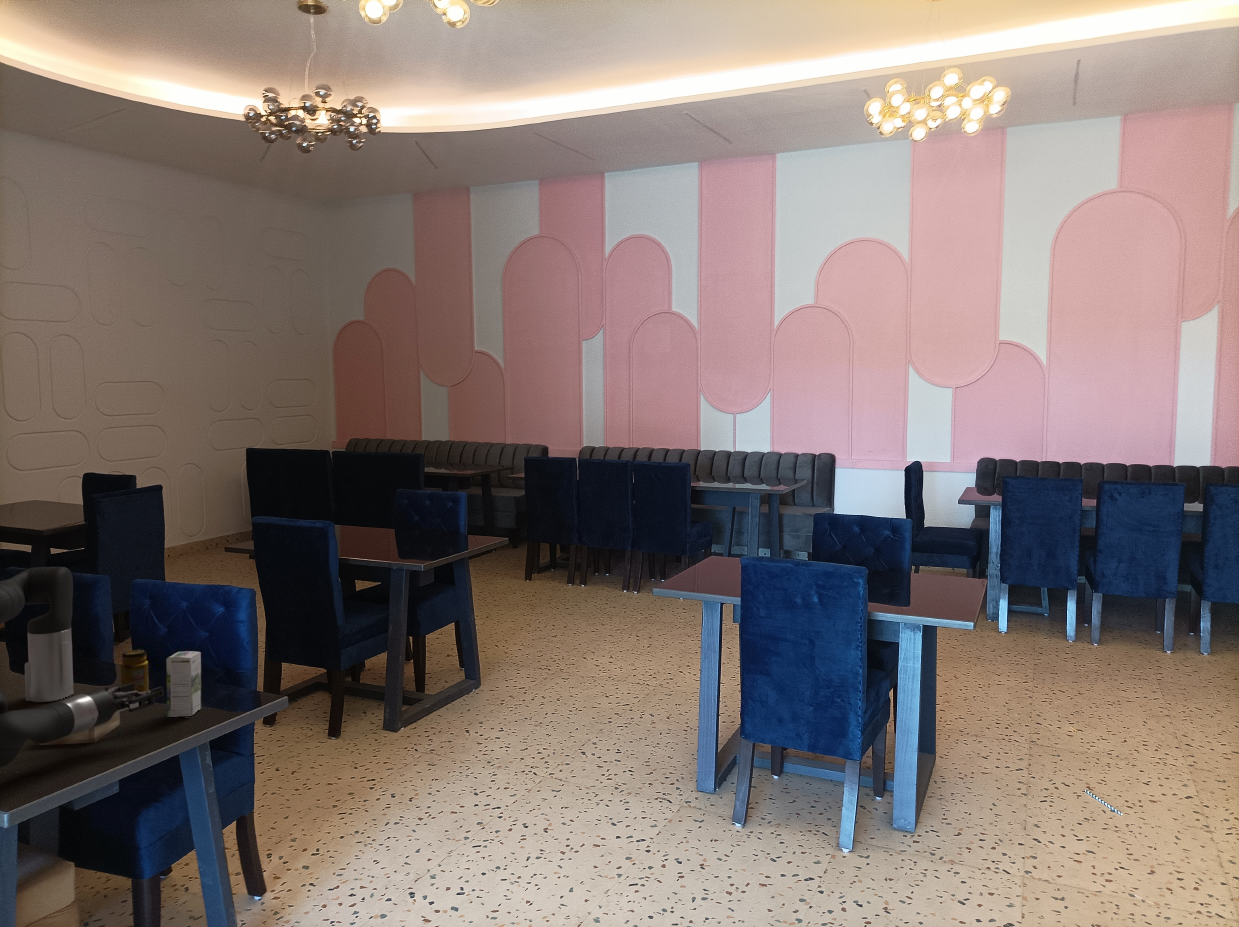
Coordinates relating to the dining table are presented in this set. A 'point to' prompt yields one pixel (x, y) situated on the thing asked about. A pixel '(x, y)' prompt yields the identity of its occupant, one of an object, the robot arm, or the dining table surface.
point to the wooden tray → (89, 733)
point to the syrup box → (183, 683)
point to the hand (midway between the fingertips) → (148, 689)
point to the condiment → (135, 670)
